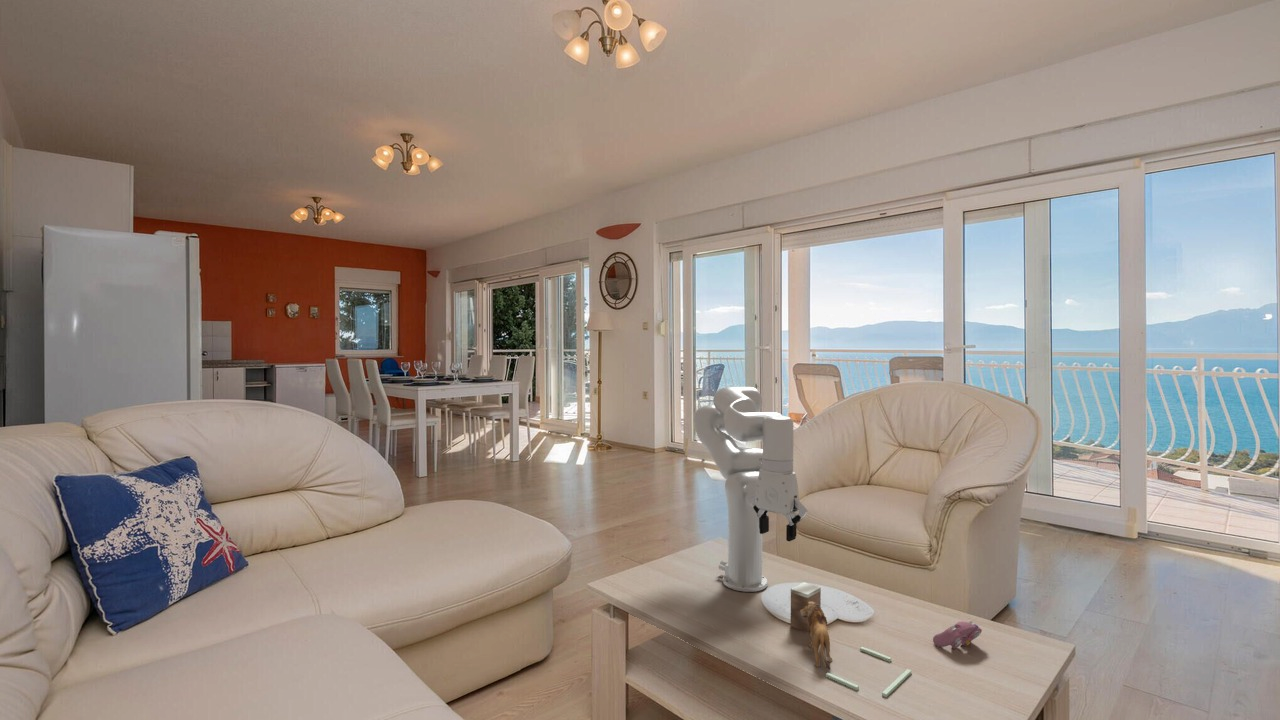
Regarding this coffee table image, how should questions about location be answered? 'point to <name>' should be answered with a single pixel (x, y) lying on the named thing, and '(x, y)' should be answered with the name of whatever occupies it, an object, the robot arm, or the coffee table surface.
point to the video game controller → (957, 635)
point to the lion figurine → (817, 631)
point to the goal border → (901, 677)
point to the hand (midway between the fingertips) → (777, 535)
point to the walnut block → (803, 603)
